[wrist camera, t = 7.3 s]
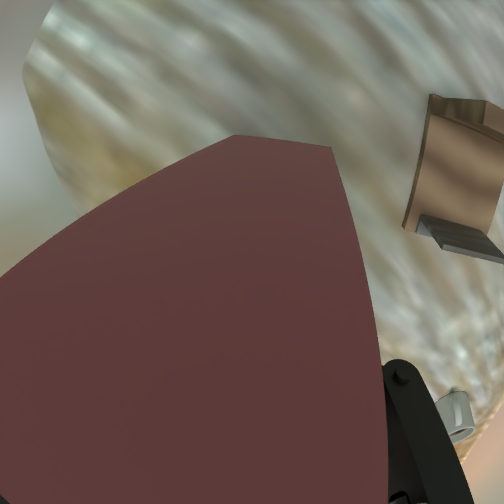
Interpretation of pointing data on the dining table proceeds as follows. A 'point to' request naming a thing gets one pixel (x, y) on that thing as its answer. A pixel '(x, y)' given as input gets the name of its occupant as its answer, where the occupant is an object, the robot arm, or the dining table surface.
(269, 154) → the burgundy book
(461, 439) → the mug
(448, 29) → the dining table surface
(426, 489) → the robot arm
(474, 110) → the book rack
